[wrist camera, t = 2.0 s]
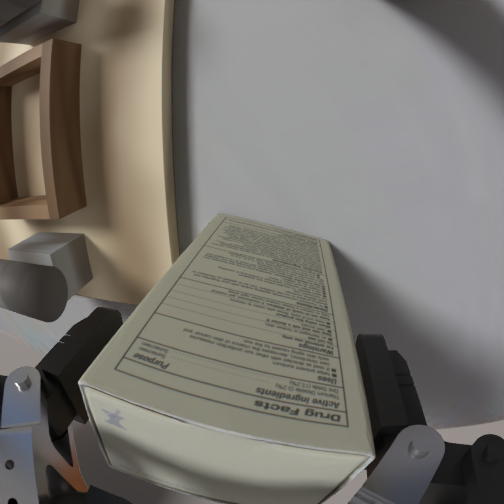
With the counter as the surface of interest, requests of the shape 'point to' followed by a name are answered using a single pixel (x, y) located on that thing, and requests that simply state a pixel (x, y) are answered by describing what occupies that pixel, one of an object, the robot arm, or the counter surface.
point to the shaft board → (85, 152)
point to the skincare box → (237, 374)
